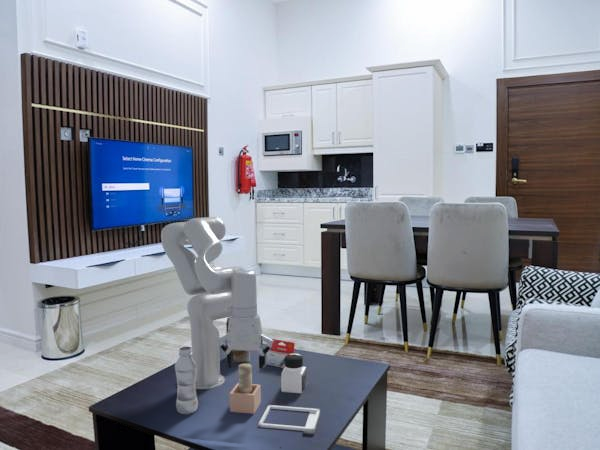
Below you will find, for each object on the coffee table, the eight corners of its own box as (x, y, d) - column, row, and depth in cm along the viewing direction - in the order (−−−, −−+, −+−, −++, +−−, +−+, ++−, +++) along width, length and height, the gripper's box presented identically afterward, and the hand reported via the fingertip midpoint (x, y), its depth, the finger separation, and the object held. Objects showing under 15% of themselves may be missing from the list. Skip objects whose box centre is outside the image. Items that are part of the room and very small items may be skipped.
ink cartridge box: (291, 370, 180) (291, 344, 179) (266, 364, 186) (266, 340, 185) (295, 367, 182) (294, 342, 181) (270, 362, 188) (269, 338, 187)
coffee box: (226, 362, 188) (225, 322, 186) (227, 356, 194) (226, 317, 193) (249, 362, 188) (249, 321, 187) (250, 356, 195) (250, 317, 193)
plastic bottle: (187, 419, 143) (185, 353, 141) (171, 413, 146) (169, 349, 145) (202, 410, 148) (201, 347, 147) (186, 405, 152) (185, 343, 150)
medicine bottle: (302, 395, 159) (302, 360, 157) (281, 393, 160) (280, 358, 159) (306, 386, 166) (306, 352, 164) (286, 384, 167) (285, 351, 166)
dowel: (237, 409, 148) (236, 368, 146) (241, 403, 152) (240, 363, 150) (250, 410, 147) (249, 368, 146) (253, 404, 151) (253, 363, 150)
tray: (258, 429, 137) (258, 424, 137) (268, 409, 149) (268, 404, 149) (314, 434, 134) (314, 429, 134) (320, 413, 146) (320, 409, 146)
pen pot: (230, 414, 146) (229, 393, 146) (237, 402, 154) (237, 383, 153) (254, 416, 145) (254, 395, 144) (260, 404, 152) (260, 384, 152)
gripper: (213, 313, 144) (215, 370, 145) (269, 315, 141) (271, 372, 142) (221, 307, 152) (223, 361, 153) (275, 309, 148) (276, 363, 150)
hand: (246, 366), depth 147 cm, fingers open, 9 cm apart
